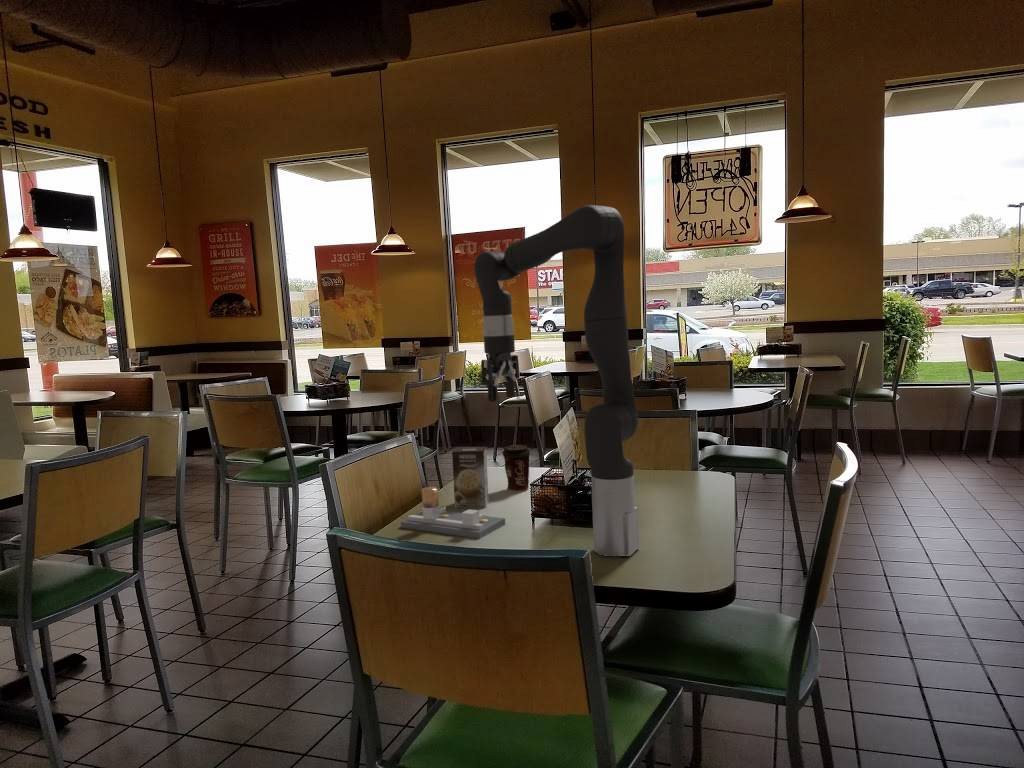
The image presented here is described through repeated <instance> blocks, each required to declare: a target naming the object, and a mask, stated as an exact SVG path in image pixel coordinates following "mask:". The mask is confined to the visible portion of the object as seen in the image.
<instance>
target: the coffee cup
mask: <svg viewBox="0 0 1024 768" xmlns="http://www.w3.org/2000/svg"><path fill="white" fill-rule="evenodd" d="M530 455H531V452H530V450H529V449H528V446H527V445H523V444H511V445H507V446H504V447H503V451H502V456H503V458H504V459H503V460H504V471H505V474H506V478H507V488H506V489H507V491H508V492H512V493H524V492H526V491H528V489H529V483H530V479H529V478H530Z"/></svg>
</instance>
